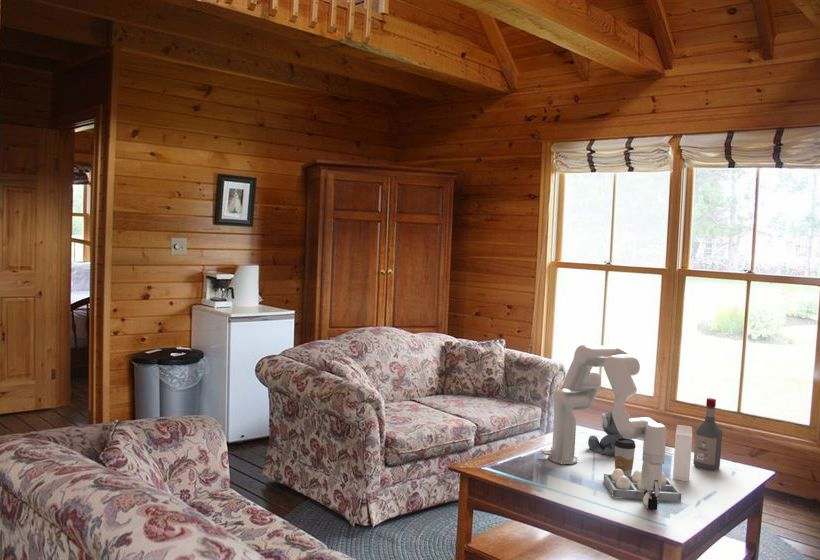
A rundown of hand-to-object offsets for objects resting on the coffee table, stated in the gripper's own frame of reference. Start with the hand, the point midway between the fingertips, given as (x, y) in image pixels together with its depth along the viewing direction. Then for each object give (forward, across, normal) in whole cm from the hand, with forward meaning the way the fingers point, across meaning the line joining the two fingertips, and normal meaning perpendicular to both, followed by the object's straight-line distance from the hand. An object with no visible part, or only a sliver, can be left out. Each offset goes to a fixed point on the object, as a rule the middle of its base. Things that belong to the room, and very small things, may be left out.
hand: (650, 505), depth 253 cm
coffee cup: (+1, -32, -2) cm, 32 cm away
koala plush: (+1, -63, +1) cm, 63 cm away
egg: (+1, 0, 0) cm, 1 cm away
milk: (+1, -34, +22) cm, 41 cm away
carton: (+1, -16, +1) cm, 16 cm away
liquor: (+1, -50, +38) cm, 63 cm away
